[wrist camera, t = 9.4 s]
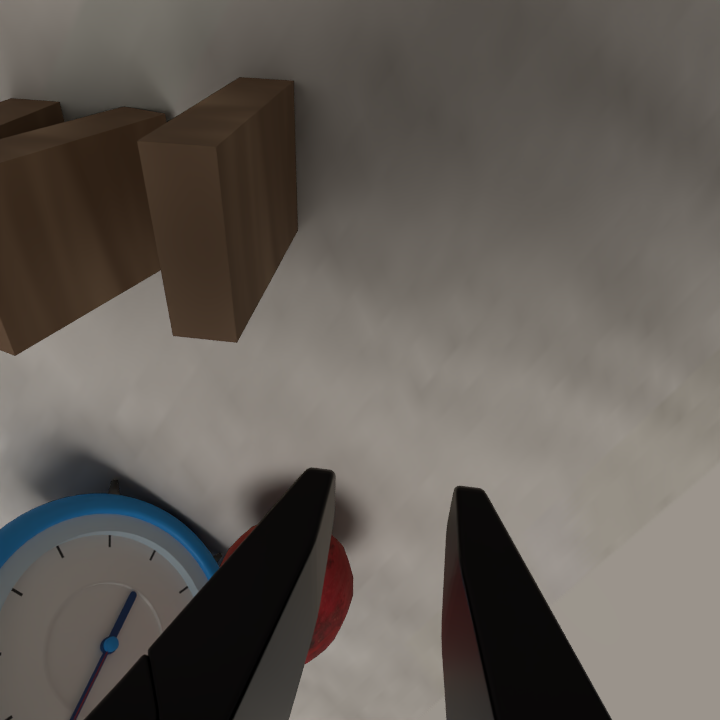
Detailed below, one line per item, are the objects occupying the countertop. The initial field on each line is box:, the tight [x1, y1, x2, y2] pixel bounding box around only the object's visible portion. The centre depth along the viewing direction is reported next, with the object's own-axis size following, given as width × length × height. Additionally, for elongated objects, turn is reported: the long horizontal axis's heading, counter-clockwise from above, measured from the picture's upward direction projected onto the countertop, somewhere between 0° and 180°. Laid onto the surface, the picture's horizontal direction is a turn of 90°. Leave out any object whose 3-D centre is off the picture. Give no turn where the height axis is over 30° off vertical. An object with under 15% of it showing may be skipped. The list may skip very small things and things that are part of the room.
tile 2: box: [0, 107, 166, 356], centre depth 16 cm, size 2×5×7 cm, turn 178°
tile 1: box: [137, 77, 298, 343], centre depth 15 cm, size 2×5×7 cm, turn 178°
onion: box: [220, 525, 353, 664], centre depth 25 cm, size 6×6×8 cm
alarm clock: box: [0, 480, 222, 720], centre depth 25 cm, size 13×6×15 cm, turn 42°
